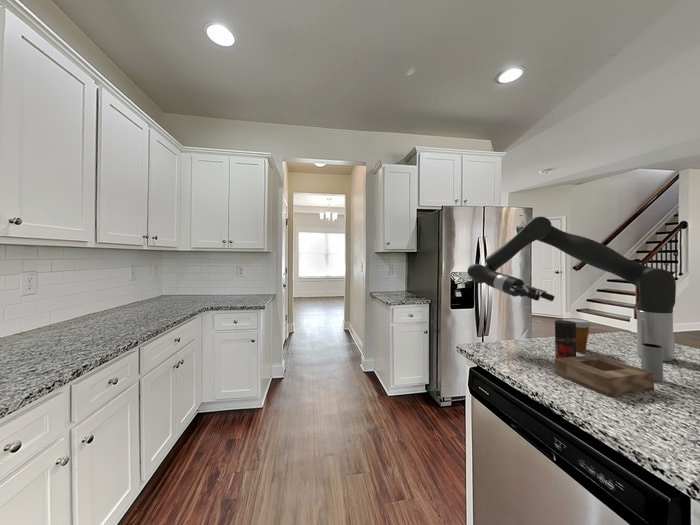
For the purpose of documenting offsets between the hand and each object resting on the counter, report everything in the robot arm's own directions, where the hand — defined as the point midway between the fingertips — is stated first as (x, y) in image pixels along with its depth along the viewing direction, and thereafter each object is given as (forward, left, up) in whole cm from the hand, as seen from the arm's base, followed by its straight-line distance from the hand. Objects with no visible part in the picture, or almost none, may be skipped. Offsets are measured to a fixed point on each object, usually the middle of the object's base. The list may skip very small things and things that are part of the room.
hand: (546, 298), depth 107 cm
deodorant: (-1, +6, -23) cm, 24 cm away
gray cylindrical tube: (-15, +22, -23) cm, 35 cm away
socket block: (+2, +20, -23) cm, 30 cm away
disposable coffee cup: (-21, -7, -23) cm, 32 cm away
